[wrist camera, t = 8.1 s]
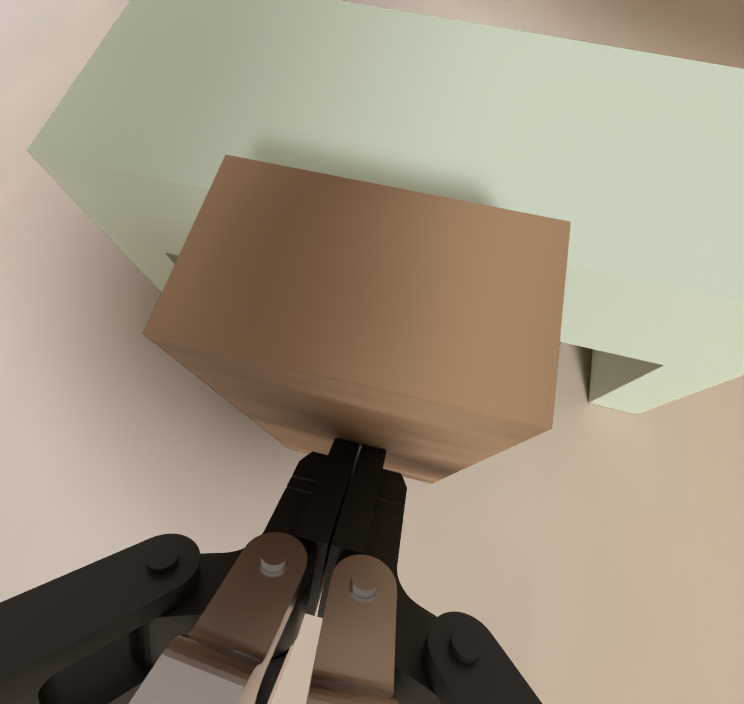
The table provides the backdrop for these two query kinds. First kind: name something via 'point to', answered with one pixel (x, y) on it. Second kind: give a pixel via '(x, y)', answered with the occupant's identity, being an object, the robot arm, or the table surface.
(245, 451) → the table surface
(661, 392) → the pale green bench
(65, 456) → the table surface
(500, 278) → the brown wooden block
